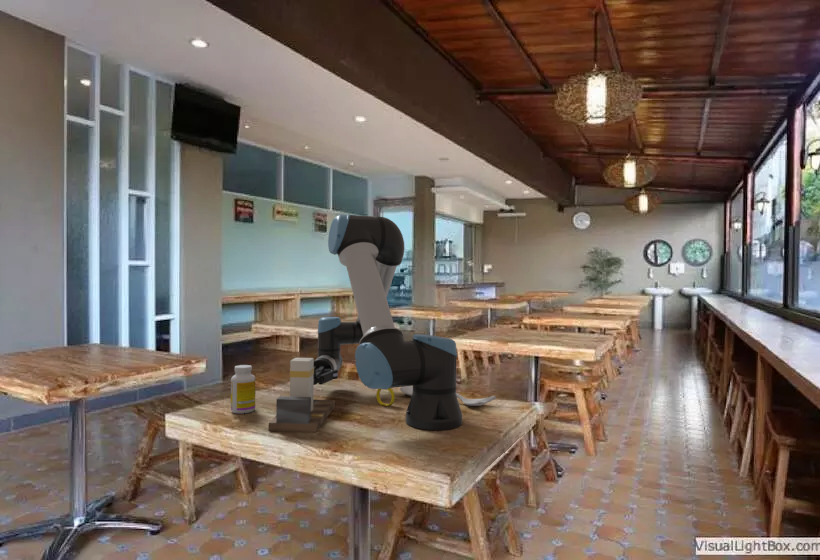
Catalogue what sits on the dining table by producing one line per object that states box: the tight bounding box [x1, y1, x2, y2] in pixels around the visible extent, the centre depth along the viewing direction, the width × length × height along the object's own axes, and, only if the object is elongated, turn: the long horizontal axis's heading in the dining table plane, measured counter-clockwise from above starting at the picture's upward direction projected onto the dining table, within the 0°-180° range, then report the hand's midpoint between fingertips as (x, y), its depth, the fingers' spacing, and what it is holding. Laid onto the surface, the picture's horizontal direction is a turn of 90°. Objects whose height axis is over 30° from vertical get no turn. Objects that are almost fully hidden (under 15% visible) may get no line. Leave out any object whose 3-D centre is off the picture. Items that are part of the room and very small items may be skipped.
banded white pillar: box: [289, 357, 315, 411], centre depth 139 cm, size 5×5×14 cm
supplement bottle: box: [230, 364, 256, 415], centre depth 148 cm, size 7×7×13 cm
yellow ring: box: [375, 388, 396, 407], centre depth 157 cm, size 6×3×6 cm, turn 58°
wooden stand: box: [267, 395, 336, 433], centre depth 142 cm, size 24×12×8 cm, turn 177°
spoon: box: [399, 386, 497, 407], centre depth 163 cm, size 9×32×4 cm, turn 54°
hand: (303, 385), depth 142 cm, fingers closed
